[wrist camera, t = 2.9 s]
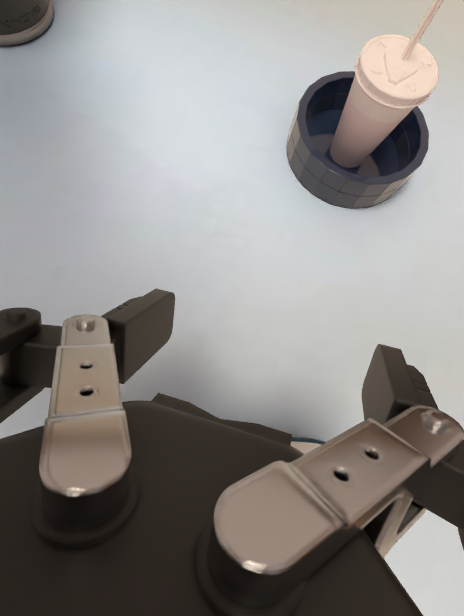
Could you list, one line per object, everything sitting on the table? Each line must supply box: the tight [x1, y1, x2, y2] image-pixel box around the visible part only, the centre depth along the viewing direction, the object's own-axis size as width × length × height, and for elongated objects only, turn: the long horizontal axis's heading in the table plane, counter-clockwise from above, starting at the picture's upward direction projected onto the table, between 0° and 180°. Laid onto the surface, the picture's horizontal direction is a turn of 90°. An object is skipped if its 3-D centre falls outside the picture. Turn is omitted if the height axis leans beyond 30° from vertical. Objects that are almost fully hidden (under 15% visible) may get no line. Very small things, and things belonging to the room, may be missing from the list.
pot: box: [287, 71, 429, 208], centre depth 34 cm, size 13×13×4 cm
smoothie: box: [330, 0, 443, 168], centre depth 29 cm, size 6×6×14 cm
